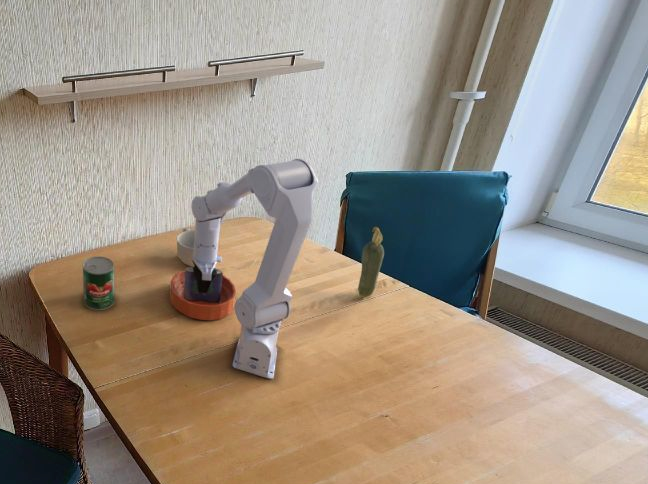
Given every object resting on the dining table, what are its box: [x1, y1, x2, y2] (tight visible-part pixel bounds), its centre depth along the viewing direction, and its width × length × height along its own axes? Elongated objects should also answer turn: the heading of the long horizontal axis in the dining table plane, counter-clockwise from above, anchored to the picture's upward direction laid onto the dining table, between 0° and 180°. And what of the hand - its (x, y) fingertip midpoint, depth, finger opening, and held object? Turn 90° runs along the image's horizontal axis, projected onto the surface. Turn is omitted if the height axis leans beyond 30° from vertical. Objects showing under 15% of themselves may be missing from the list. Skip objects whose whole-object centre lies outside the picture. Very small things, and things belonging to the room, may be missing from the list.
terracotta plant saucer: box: [169, 269, 237, 321], centre depth 109 cm, size 16×16×4 cm
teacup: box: [176, 227, 195, 267], centre depth 127 cm, size 14×11×8 cm
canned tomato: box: [82, 256, 115, 311], centre depth 109 cm, size 8×8×11 cm
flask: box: [183, 266, 224, 303], centre depth 108 cm, size 9×3×11 cm, turn 81°
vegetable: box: [357, 226, 385, 298], centre depth 105 cm, size 4×4×20 cm
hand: (202, 288), depth 108 cm, fingers closed on flask, 3 cm apart
